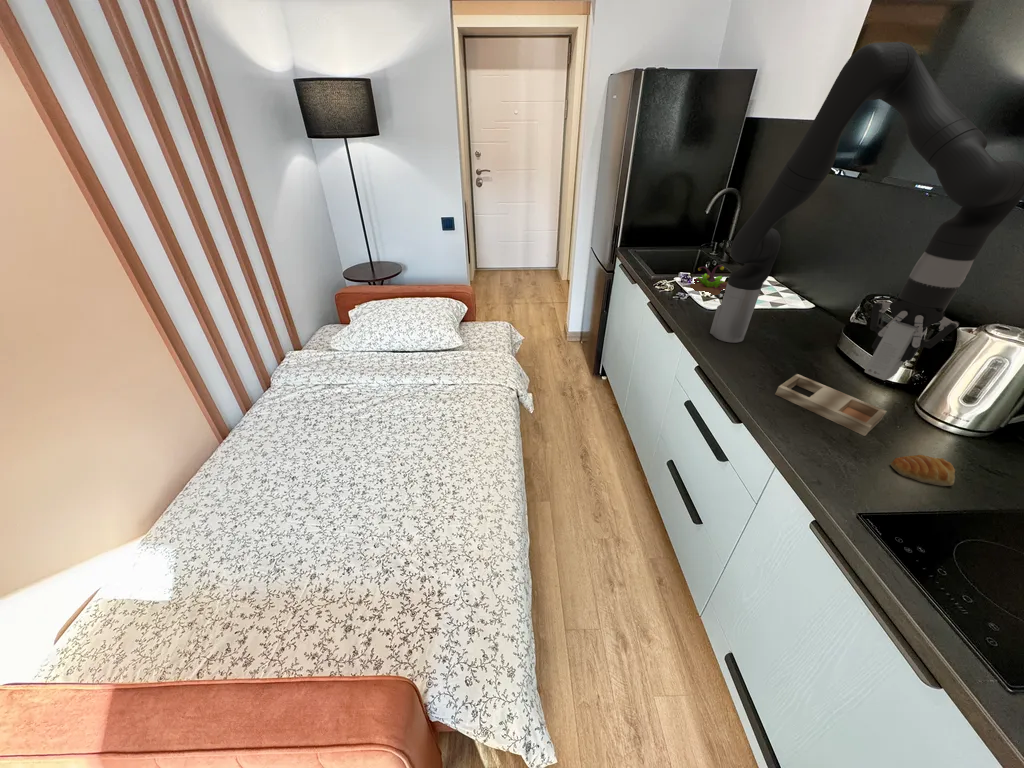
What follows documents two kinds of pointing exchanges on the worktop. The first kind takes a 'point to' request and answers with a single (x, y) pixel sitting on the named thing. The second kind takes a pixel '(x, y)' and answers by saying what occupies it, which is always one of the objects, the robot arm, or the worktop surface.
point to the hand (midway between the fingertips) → (890, 355)
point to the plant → (709, 282)
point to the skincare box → (891, 350)
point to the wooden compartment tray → (832, 404)
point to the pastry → (925, 469)
